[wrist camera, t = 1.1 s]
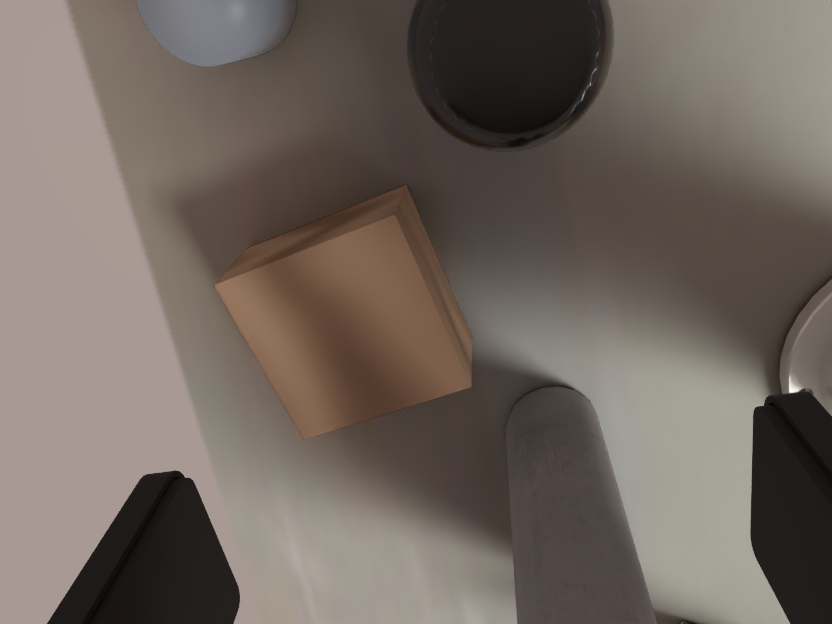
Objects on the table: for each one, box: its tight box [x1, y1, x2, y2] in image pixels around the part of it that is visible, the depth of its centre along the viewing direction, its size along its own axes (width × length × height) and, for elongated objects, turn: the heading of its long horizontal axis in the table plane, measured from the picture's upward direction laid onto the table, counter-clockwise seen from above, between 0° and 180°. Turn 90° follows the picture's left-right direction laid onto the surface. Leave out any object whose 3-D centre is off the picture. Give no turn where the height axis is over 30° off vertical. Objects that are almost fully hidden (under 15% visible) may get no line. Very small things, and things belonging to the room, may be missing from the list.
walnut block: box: [214, 185, 472, 440], centre depth 33 cm, size 9×9×5 cm
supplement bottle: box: [407, 0, 614, 152], centre depth 24 cm, size 7×7×12 cm
